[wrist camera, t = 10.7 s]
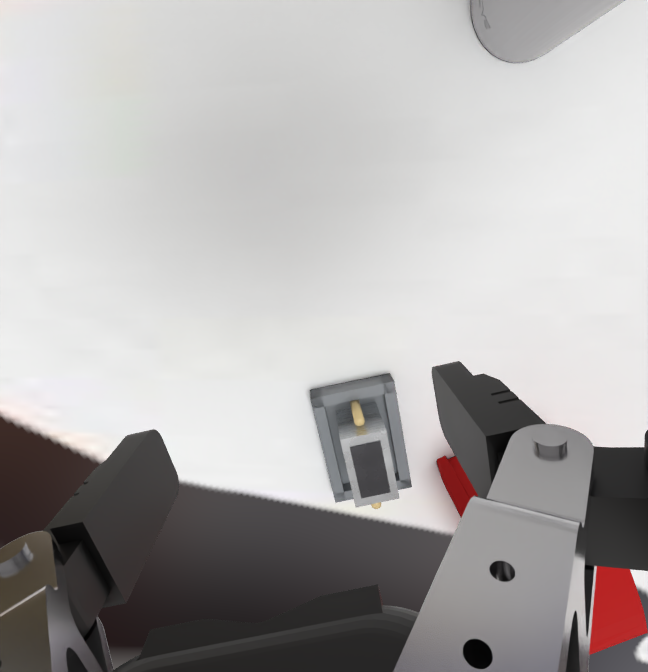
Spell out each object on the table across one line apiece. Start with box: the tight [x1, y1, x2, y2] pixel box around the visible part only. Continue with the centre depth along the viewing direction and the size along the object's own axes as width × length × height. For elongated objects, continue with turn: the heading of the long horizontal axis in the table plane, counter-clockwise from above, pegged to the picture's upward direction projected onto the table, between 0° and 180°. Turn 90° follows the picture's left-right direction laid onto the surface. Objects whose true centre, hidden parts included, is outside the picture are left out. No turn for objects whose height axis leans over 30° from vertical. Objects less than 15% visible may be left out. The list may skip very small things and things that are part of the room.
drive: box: [336, 402, 399, 507], centre depth 42 cm, size 4×8×6 cm, turn 12°
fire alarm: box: [437, 456, 647, 655], centre depth 42 cm, size 16×11×15 cm
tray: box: [310, 373, 412, 509], centre depth 43 cm, size 9×13×6 cm, turn 12°
